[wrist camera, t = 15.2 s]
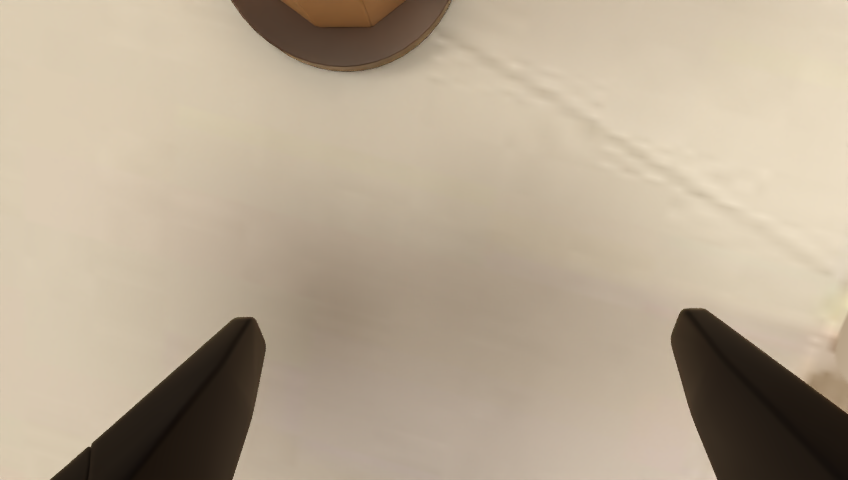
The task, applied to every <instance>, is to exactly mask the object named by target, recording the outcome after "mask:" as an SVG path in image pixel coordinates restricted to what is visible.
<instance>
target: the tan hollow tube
mask: <svg viewBox="0 0 848 480" xmlns="http://www.w3.org/2000/svg"><path fill="white" fill-rule="evenodd" d="M281 1H282V2H284V3H285V4H286V5H288V6H289V7H290V8H292V9H293V10H294V11H296V12H297V13H298V14H300V15H301V16H302V17H304V18H305V19H306V20H308V21H309V22H310V23H312V24H313V25H314V26H318V27H371V26H374V25H375V24H377V23H378V22H379V21H380V20H382V19H383V18H384V17H385V16H387V15H388V14H389V13H390V12H392V11H393V10H394V9H395V8H397V7H398V6H399V5H400V4H402V3H403V2H404V1H406V0H281Z"/></svg>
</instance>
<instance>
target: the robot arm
mask: <svg viewBox="0 0 848 480" xmlns="http://www.w3.org/2000/svg"><path fill="white" fill-rule="evenodd" d="M671 346H672V349H673V353H674V357H675V360H676V364H677V367H678V371H679V374H680V378H681V381H682V385H683V389H684V392H685V396H686V399H687V403H688V406H689V409H690V412H691V415H692V418H693V421H694V423H695V426H696V428H697V431H698V433H699V436H700V438H701V441H702V443H703V446H704V448H705V450H706V453H707V455H708V458H709V460H710V463H711V465H712V468H713V470H714V472H715V475H716V477H717V480H848V414H847V413H846V412H844V411H843V410H842V409H840V408H839V407H837V406H836V405H835V404H833V403H832V402H831V401H829V400H828V399H827V398H825V397H824V396H823V395H821V394H820V393H819V392H817V391H816V390H814V389H813V388H812V387H810V386H809V385H808V384H806V383H805V382H804V381H802V380H801V379H800V378H798V377H797V376H796V375H794V374H793V373H791V372H790V371H789V370H787V369H786V368H785V367H783V366H782V365H781V364H779V363H778V362H777V361H775V360H774V359H773V358H771V357H770V356H769V355H767V354H766V353H764V352H763V351H762V350H760V349H759V348H758V347H756V346H755V345H754V344H752V343H751V342H750V341H748V340H747V339H746V338H744V337H743V336H741V335H740V334H739V333H737V332H736V331H735V330H733V329H732V328H731V327H729V326H728V325H727V324H725V323H724V322H723V321H721V320H720V319H718V318H717V317H716V316H714V315H713V314H712V313H710V312H709V311H707V310H706V309H702V308H687V309H683V310H682V311H681V312H680V314H679V316H678V319H677V321H676V324H675V327H674V329H673V332H672V335H671ZM265 351H266V344H265V340H264V338H263V335H262V333H261V330H260V328H259V326H258V323H257V321H256V320H255V319H254V318H253V317H237V318H234V319H233V320H231V321H230V322H229V323H228V324H227V325H226V326H224V327H223V328H222V329H221V330H220V331H219V332H218V333H217V334H215V335H214V336H213V337H212V338H211V339H210V340H209V341H207V342H206V343H205V344H204V345H203V346H202V347H201V348H200V349H198V350H197V351H196V352H195V353H194V354H193V355H192V356H190V357H189V358H188V359H187V360H186V361H185V362H184V363H183V364H181V365H180V366H179V367H178V368H177V369H176V370H175V371H173V372H172V373H171V374H170V375H169V376H168V377H167V378H166V379H164V380H163V381H162V382H161V383H160V384H159V385H158V386H156V387H155V388H154V389H153V390H152V391H151V392H150V393H149V394H147V395H146V396H145V397H144V398H143V399H142V400H141V401H139V402H138V403H137V404H136V405H135V406H134V407H133V408H132V409H130V410H129V411H128V412H127V413H126V414H125V415H124V416H122V417H121V418H120V419H119V420H118V421H117V422H116V423H115V424H113V425H112V426H111V427H110V428H109V429H108V430H107V431H105V432H104V433H103V434H102V435H101V436H100V437H99V438H98V439H96V440H95V441H94V442H93V443H92V445H91V447H87V448H86V449H85V450H84V451H83V452H82V453H80V454H79V455H78V456H77V457H76V458H75V459H74V460H72V461H71V462H70V463H69V464H68V465H67V466H65V467H64V468H63V469H62V470H61V471H60V472H58V473H57V474H56V475H55V476H54V477H53V478H51V479H50V480H232V479H233V476H234V473H235V470H236V467H237V464H238V460H239V457H240V454H241V451H242V448H243V445H244V442H245V438H246V435H247V432H248V429H249V426H250V422H251V419H252V415H253V411H254V407H255V402H256V397H257V392H258V387H259V382H260V377H261V372H262V367H263V362H264V357H265Z"/></svg>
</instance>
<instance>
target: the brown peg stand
mask: <svg viewBox="0 0 848 480" xmlns="http://www.w3.org/2000/svg"><path fill="white" fill-rule="evenodd" d="M231 1H232V3H233V4H234V6H235V7H236V8H237V10H238V11H239V13H240V14H241V15H242V17H243V18H244V19H245V20H246V21H247V22H248V23H249V25H250V26H251V27H252V28H253V29H254V30H255V31H256V32H257V33H259V34H260V35H261V36H262V37H263V38H264V39H265V40H267V41H268V42H269V43H271V44H272V45H274V46H275V47H276V48H278V49H279V50H281V51H282V52H284V53H285V54H287V55H288V56H290V57H292V58H294V59H296V60H298V61H300V62H302V63H305V64H308V65H311V66H314V67H317V68H322V69H327V70H332V71H361V70H366V69H371V68H376V67H379V66H382V65H385V64H387V63H390V62H392V61H394V60H396V59H398V58H400V57H402V56H404V55H405V54H407V53H408V52H409V51H411V50H412V49H414V48H415V47H416V46H418V45H419V44H420V43H421V42H422V41H423V40H424V39H425V38H426V37H427V36H428V35H429V34H430V33H431V32H432V31H433V29H434V28H435V27H436V26H437V24H438V23H439V22H440V20H441V19H442V17H443V15H444V14H445V12H446V10H447V9H448V7H449V5H450V2H451V0H406V1H404V2H403V3H402V4H400V5H399V6H398V7H397V8H395V9H394V10H393V11H392V12H390V13H389V14H388V15H387V16H385V17H384V18H383V19H382V20H380V21H379V22H378V23H377V24H375V25H374V26H371V27H318V26H314V25H313V24H312V23H310V22H309V21H308V20H306V19H305V18H304V17H302V16H301V15H300V14H298V13H297V12H296V11H294V10H293V9H292V8H290V7H289V6H288V5H286V4H285V3H284V2H282V1H281V0H231Z"/></svg>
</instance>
